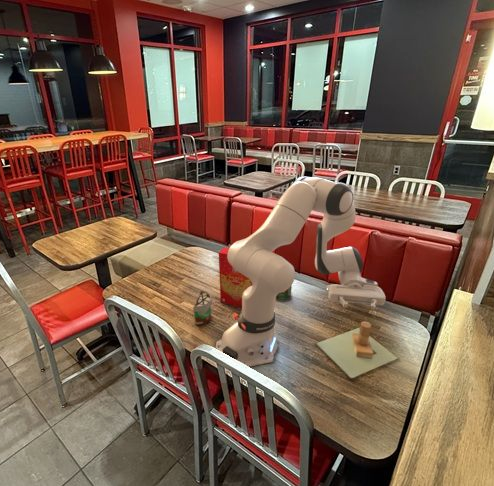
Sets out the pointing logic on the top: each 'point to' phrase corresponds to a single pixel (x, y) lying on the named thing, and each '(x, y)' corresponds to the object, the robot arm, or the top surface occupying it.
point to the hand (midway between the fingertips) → (359, 307)
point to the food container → (203, 308)
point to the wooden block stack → (363, 341)
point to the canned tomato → (284, 295)
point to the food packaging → (231, 281)
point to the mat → (346, 358)
